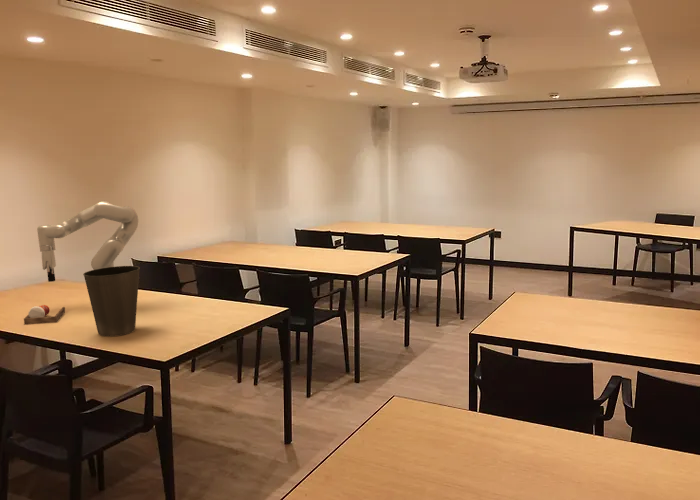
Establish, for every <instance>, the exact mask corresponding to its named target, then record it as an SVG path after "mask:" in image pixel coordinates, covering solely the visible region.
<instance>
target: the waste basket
mask: <svg viewBox="0 0 700 500" xmlns="http://www.w3.org/2000/svg"><path fill="white" fill-rule="evenodd" d="M140 269H141V267H140V266H137V265H120V266H114V267H107V268H101V269H95V270H94V269H91V270H89V271H85V272H84V273H83V277H84V280H85V285H86V289H87V293H88V294H87V295H88V296H89V297H88V298H89V301H90V302H89V303H90V306H91V309H92V315H93V318H94V321H95V326H96V330H97V334H98V335H100V336H102V337H119V336H124V335H125V336H126V335H129V334H131V333H133V332H135V330H136V321H137V308H138V294H139V293H138V291H139V281H140V280H139V278H140Z"/></svg>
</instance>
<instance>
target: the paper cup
mask: <svg viewBox="0 0 700 500" xmlns="http://www.w3.org/2000/svg"><path fill="white" fill-rule="evenodd" d="M50 311H51V310H50V307H49V306H48V305H46V304H42V305H37V306H36V305H35V306H32V307H31V308H30V309H29V311H28V314H27V315H29V317H30V318H36V317H47V316H48V314H49V313H50Z"/></svg>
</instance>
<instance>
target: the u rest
mask: <svg viewBox="0 0 700 500" xmlns="http://www.w3.org/2000/svg"><path fill="white" fill-rule="evenodd" d="M65 313H66V307H65V306H63V307H61V308H60V309H59V311H58V312H57V313H56V314H55V315H53V316H45V317H36V318H30V317H29V315H28V314H27V315H26V316H25V317H24V318H23V323H24V324H23V325H37V324H54V323H58V322H59V320H61V318H62V317H63V316H64V315H65Z"/></svg>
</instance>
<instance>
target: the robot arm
mask: <svg viewBox="0 0 700 500" xmlns="http://www.w3.org/2000/svg"><path fill="white" fill-rule="evenodd" d="M103 219H105V220H109V221H113V222H117V223H120V225H119V226H118V228H117V229H116V230H115V231H114V233H113V234H112V235H111V236H110V237H109V238H108V239H107V240H105V241H104V242H103V244H102V245H101V246H100V248H99V249H98V250H97V252H95V253H96V254H94V256H93V257H92V259H91V260H90V266H91V268H92V270H95V269H101V268H107V267H115V266H114V264H115V263H114V262H115V261H116V259H117V257H118V256H119V255H120V253H122V252H123V250H124V248H125V246H126V245H127V244H128V242H129V241H130V239H131V238H132V237H133V235H134V234H135V232H136V231H137V228H138V225H139V217H138V214H137V212H136V210H135V209H134V208H133V207H132V206H129V205H128V206H127V205H125V206H120V205H116V204H112V203H111V202H110V201H108V200H102V201H98V202H96V204H94V205H90V206H89V207H88V208H85V209H84V210H83V209H82V210H81V211H79V212H78V213H77V214H76V215H74V216H73V217H71V218H69V219H66V220H65V221H62V222H60V223H57V224H54V225H52V224H51V225H50V224H43V225H38V226H37V230H36V231H37V238H38V244H39V252H41V265H42V270H43V271H45V270H46V273H47V274H46V275H47V281H48V283H50V282H55V281H56V274H55V267H56V266H57V262H56V255H55V251H57V250H56V242H55V239H63V238H65V237H67V236H69V235H71V234H73V233H74V232H77V231H79V230H81V229H83V228H85V227H89V226H91V225H92V224H95V223H96V222H99V221H100V220H103Z"/></svg>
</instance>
